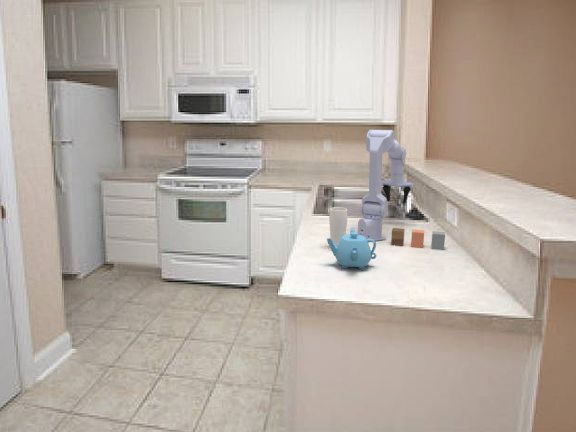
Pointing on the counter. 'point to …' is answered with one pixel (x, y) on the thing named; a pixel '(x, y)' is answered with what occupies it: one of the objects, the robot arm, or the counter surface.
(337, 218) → the drinking glass
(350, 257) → the teapot
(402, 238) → the walnut block
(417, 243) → the terracotta block
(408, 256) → the counter surface
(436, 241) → the slate block
